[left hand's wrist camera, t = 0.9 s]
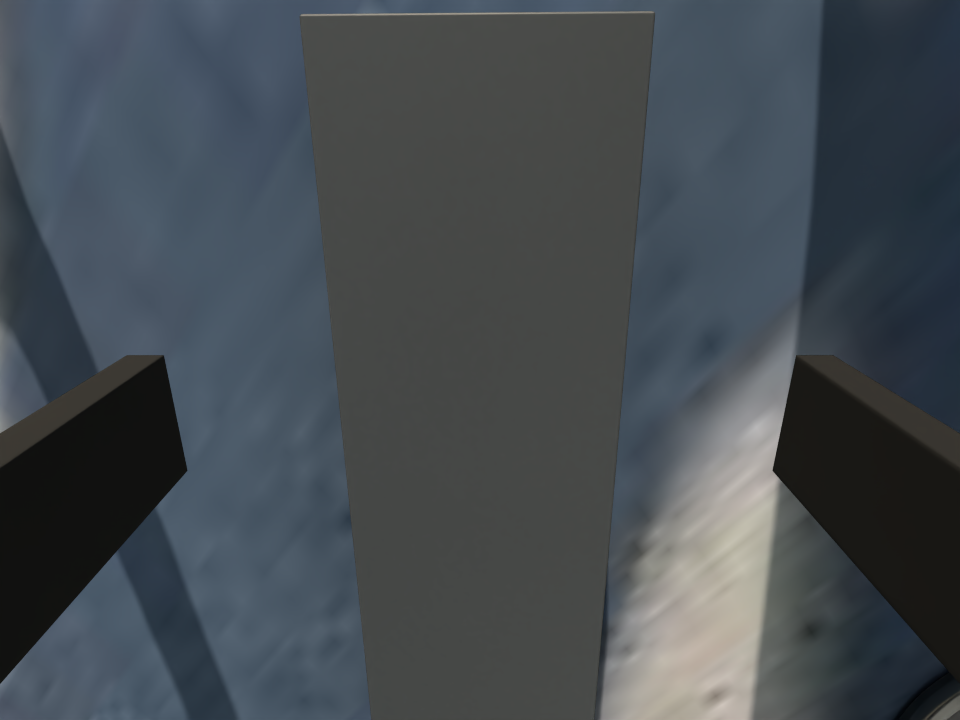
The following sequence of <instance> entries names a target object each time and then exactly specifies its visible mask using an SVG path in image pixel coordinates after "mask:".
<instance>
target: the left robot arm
mask: <svg viewBox="0 0 960 720" xmlns="http://www.w3.org/2000/svg"><path fill="white" fill-rule="evenodd" d="M186 472H187V466H186V461H185V457H184V452H183V447H182V442H181V437H180V432H179V427H178V422H177V418H176V413H175V408H174V403H173V398H172V393H171V388H170V383H169V378H168V374H167V369H166V364H165V359H164V355H127V356H125V357H123V358H122V359H120V360H119V361H117V362H115V363H114V364H112V365H110V366H109V367H107V368H106V369H104V370H102V371H101V372H99V373H97V374H96V375H94V376H93V377H91V378H89V379H88V380H86V381H84V382H83V383H81V384H80V385H78V386H76V387H75V388H73V389H72V390H70V391H68V392H67V393H65V394H63V395H62V396H60V397H59V398H57V399H55V400H54V401H52V402H50V403H49V404H47V405H46V406H44V407H42V408H41V409H39V410H38V411H36V412H34V413H33V414H31V415H29V416H28V417H26V418H25V419H23V420H21V421H20V422H18V423H16V424H15V425H13V426H12V427H10V428H8V429H7V430H5V431H3V432H2V433H0V683H1V682H2V681H3V680H4V679H5V678H6V677H7V675H8V674H9V673H10V672H11V671H12V670H13V669H14V668H15V666H16V665H17V664H18V663H19V662H20V661H21V660H22V658H23V657H24V656H25V655H26V654H27V653H28V652H29V650H30V649H31V648H32V647H33V646H34V645H35V644H36V642H37V641H38V640H39V639H40V638H41V637H42V636H43V634H44V633H45V632H46V631H47V630H48V629H49V628H50V627H51V625H52V624H53V623H54V622H55V621H56V620H57V619H58V617H59V616H60V615H61V614H62V613H63V612H64V611H65V609H66V608H67V607H68V606H69V605H70V604H71V603H72V601H73V600H74V599H75V598H76V597H77V596H78V595H79V593H80V592H81V591H82V590H83V589H84V588H85V587H86V586H87V584H88V583H89V582H90V581H91V580H92V579H93V578H94V576H95V575H96V574H97V573H98V572H99V571H100V570H101V568H102V567H103V566H104V565H105V564H106V563H107V562H108V560H109V559H110V558H111V557H112V556H113V555H114V554H115V552H116V551H117V550H118V549H119V548H120V547H121V546H122V545H123V543H124V542H125V541H126V540H127V539H128V538H129V537H130V535H131V534H132V533H133V532H134V531H135V530H136V529H137V527H138V526H139V525H140V524H141V523H142V522H143V521H144V519H145V518H146V517H147V516H148V515H149V514H150V513H151V511H152V510H153V509H154V508H155V507H156V506H157V505H158V504H159V502H160V501H161V500H162V499H163V498H164V497H165V496H166V494H167V493H168V492H169V491H170V490H171V489H172V488H173V486H174V485H175V484H176V483H177V482H178V481H179V480H180V478H181V477H182V476H183V475H184V474H185V473H186ZM773 472H774V473H775V474H776V475H777V476H778V477H779V478H780V480H781V481H782V482H783V483H784V484H785V485H786V486H787V488H788V489H789V490H790V491H791V492H792V493H793V494H794V496H795V497H796V498H797V499H798V500H799V501H800V502H801V504H802V505H803V506H804V507H805V508H806V509H807V510H808V511H809V513H810V514H811V515H812V516H813V517H814V518H815V519H816V521H817V522H818V523H819V524H820V525H821V526H822V527H823V529H824V530H825V531H826V532H827V533H828V534H829V535H830V537H831V538H832V539H833V540H834V541H835V542H836V543H837V545H838V546H839V547H840V548H841V549H842V550H843V551H844V552H845V554H846V555H847V556H848V557H849V558H850V559H851V560H852V562H853V563H854V564H855V565H856V566H857V567H858V568H859V570H860V571H861V572H862V573H863V574H864V575H865V576H866V578H867V579H868V580H869V581H870V582H871V583H872V584H873V586H874V587H875V588H876V589H877V590H878V591H879V592H880V593H881V595H882V596H883V597H884V598H885V599H886V600H887V601H888V603H889V604H890V605H891V606H892V607H893V608H894V609H895V611H896V612H897V613H898V614H899V615H900V616H901V617H902V619H903V620H904V621H905V622H906V623H907V624H908V625H909V627H910V628H911V629H912V630H913V631H914V632H915V633H916V634H917V636H918V637H919V638H920V639H921V640H922V641H923V642H924V644H925V645H926V646H927V647H928V648H929V649H930V650H931V652H932V653H933V654H934V655H935V656H936V657H937V658H938V660H939V661H940V662H941V663H942V664H943V665H944V666H945V668H946V669H947V670H948V671H949V672H950V673H951V674H952V675H953V677H954V678H955V679H956V680H957V681H958V682H959V683H960V433H958V432H957V431H955V430H953V429H952V428H950V427H948V426H947V425H945V424H944V423H942V422H940V421H939V420H937V419H935V418H934V417H932V416H931V415H929V414H927V413H926V412H924V411H922V410H921V409H919V408H918V407H916V406H914V405H913V404H911V403H910V402H908V401H906V400H905V399H903V398H901V397H900V396H898V395H897V394H895V393H893V392H892V391H890V390H888V389H887V388H885V387H884V386H882V385H880V384H879V383H877V382H876V381H874V380H872V379H871V378H869V377H867V376H866V375H864V374H863V373H861V372H859V371H858V370H856V369H854V368H853V367H851V366H850V365H848V364H846V363H845V362H843V361H841V360H840V359H838V358H837V357H835V356H833V355H796V359H795V364H794V369H793V374H792V378H791V383H790V388H789V393H788V398H787V403H786V408H785V413H784V418H783V422H782V427H781V432H780V437H779V442H778V447H777V452H776V457H775V461H774V466H773Z"/></svg>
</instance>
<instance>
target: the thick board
mask: <svg viewBox="0 0 960 720" xmlns="http://www.w3.org/2000/svg"><path fill="white" fill-rule="evenodd" d="M654 21H655V12H653V11H632V12H513V13H393V14H301V15H300V25H301V35H302V45H303V55H304V64H305V74H306V84H307V94H308V103H309V113H310V123H311V133H312V143H313V152H314V162H315V172H316V182H317V191H318V201H319V211H320V221H321V231H322V240H323V250H324V260H325V270H326V280H327V289H328V299H329V309H330V319H331V328H332V338H333V348H334V358H335V368H336V377H337V387H338V397H339V407H340V417H341V426H342V436H343V446H344V456H345V465H346V475H347V485H348V495H349V505H350V514H351V524H352V534H353V544H354V553H355V563H356V573H357V583H358V593H359V602H360V612H361V622H362V632H363V642H364V651H365V661H366V671H367V681H368V690H369V700H370V710H371V720H594V715H595V703H596V692H597V680H598V669H599V657H600V645H601V634H602V622H603V611H604V599H605V588H606V576H607V564H608V553H609V541H610V530H611V518H612V507H613V495H614V483H615V472H616V460H617V449H618V437H619V426H620V414H621V402H622V391H623V379H624V368H625V356H626V345H627V333H628V321H629V310H630V298H631V287H632V275H633V264H634V252H635V240H636V229H637V217H638V206H639V194H640V183H641V171H642V159H643V148H644V136H645V125H646V113H647V102H648V90H649V78H650V67H651V55H652V44H653V32H654Z"/></svg>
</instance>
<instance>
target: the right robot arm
mask: <svg viewBox="0 0 960 720" xmlns="http://www.w3.org/2000/svg"><path fill="white" fill-rule="evenodd" d="M899 720H960V683H959V682H958V681H957V680H956V679H955V678H954V677H953V675H952V674H951V673H948V674H947V675H945V676H943V677H942V678H940V679H939V680H938V681H936V682H935V683H933V684H932V685H931V686H930V687H928V688H927V689H926V690H925V691H924V692H922V693H921V694H920V695H919V696H918V697H917V698H916V699H915V700H914V701H913V702H912V703H911V704H910V706H909V707H908V708H907V709H906V710H905V712H904V713H903V714H902V715H901V717H900V718H899Z"/></svg>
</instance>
